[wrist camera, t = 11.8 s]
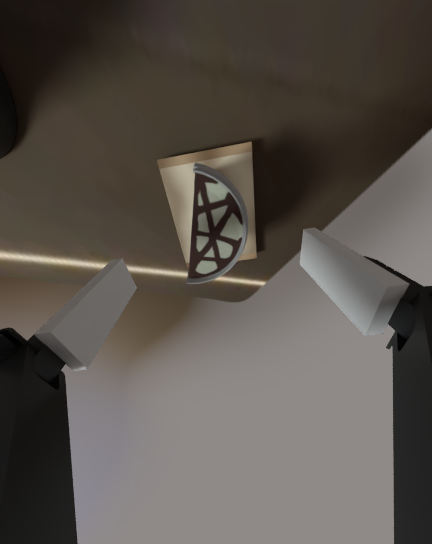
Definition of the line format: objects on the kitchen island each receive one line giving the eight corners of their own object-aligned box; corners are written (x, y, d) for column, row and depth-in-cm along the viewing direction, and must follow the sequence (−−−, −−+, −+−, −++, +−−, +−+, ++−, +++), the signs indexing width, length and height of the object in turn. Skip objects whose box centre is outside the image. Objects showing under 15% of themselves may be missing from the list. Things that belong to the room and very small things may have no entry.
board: (188, 263, 32) (187, 268, 30) (160, 160, 23) (156, 159, 22) (254, 253, 31) (256, 257, 29) (249, 143, 23) (251, 141, 21)
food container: (230, 255, 29) (238, 292, 20) (193, 251, 28) (185, 287, 20) (247, 171, 23) (268, 173, 14) (200, 164, 22) (193, 161, 14)
